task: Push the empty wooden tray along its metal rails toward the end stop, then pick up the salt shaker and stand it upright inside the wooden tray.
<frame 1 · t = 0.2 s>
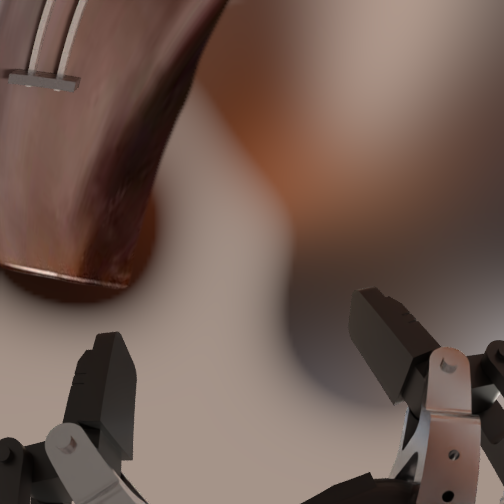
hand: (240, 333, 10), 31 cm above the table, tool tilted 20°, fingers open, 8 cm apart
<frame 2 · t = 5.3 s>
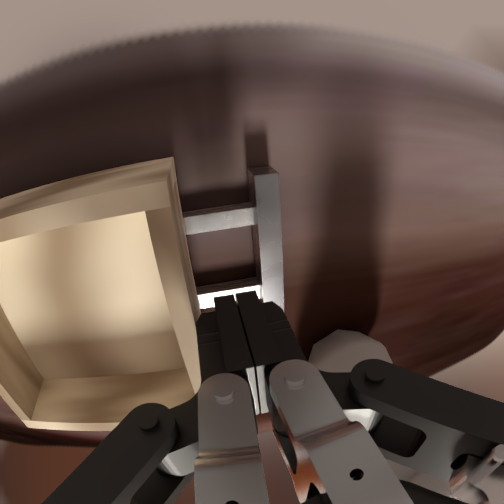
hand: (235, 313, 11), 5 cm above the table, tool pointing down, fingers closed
salt shaker: (334, 350, 20), on the table
rail: (21, 286, 14), on the table
wooden tray: (77, 310, 12), point 3 cm above the table, slide at 1.2 cm, touching gripper
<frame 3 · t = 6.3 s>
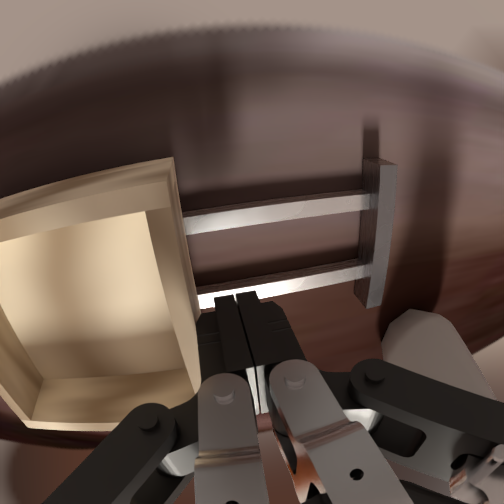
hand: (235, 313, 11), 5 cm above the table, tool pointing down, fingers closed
salt shaker: (402, 329, 21), on the table
rail: (111, 271, 14), on the table
wooden tray: (77, 310, 12), point 3 cm above the table, slide at 7.1 cm, touching gripper
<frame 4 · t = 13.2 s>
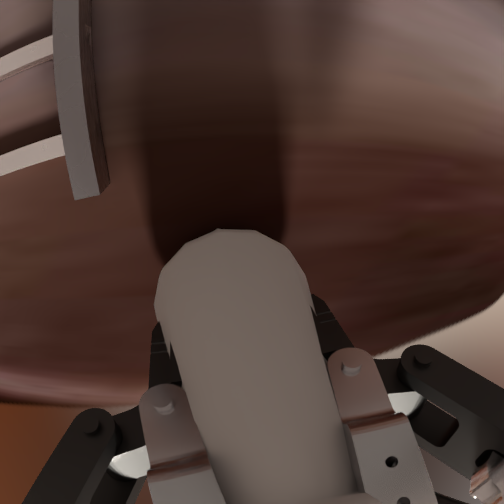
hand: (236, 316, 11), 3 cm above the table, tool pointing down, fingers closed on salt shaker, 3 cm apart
salt shaker: (224, 270, 14), on the table, touching gripper
when the fingers open (7 cm above the table, at t = 18.8 s): salt shaker drops 1 cm, resting on wooden tray.
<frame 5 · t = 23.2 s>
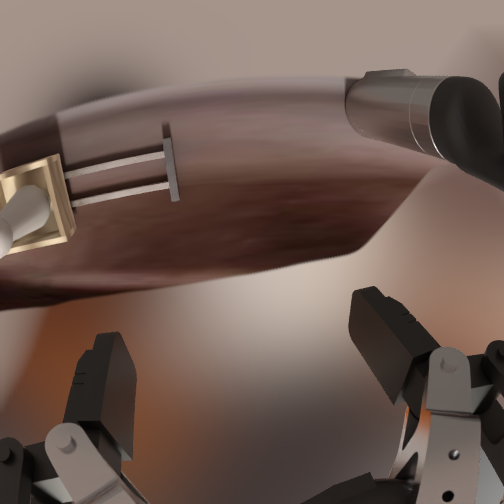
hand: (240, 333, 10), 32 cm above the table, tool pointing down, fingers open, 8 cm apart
salt shaker: (38, 201, 33), point 3 cm above the table, touching wooden tray
rail: (74, 187, 36), on the table
wooden tray: (31, 203, 33), point 3 cm above the table, slide at 11.8 cm, touching salt shaker
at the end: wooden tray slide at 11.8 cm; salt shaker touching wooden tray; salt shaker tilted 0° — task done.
